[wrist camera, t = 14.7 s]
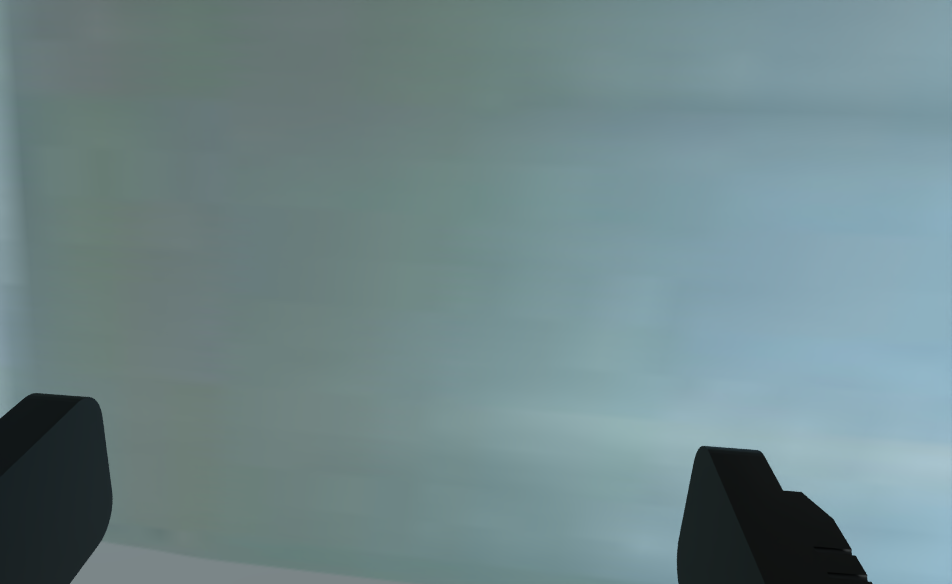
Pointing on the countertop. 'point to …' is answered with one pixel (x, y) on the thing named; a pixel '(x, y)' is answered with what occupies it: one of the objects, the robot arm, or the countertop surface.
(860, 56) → the countertop surface
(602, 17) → the countertop surface
